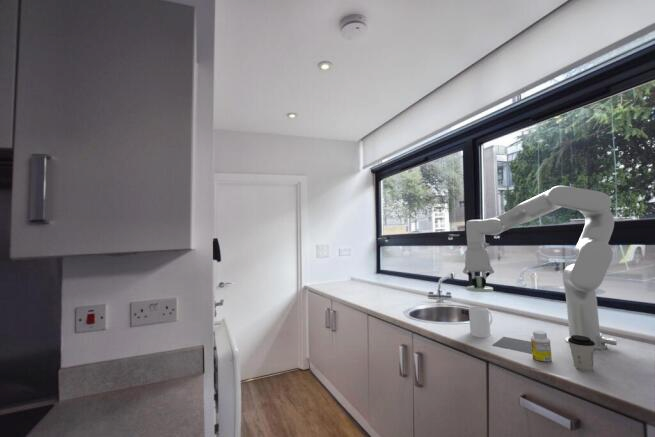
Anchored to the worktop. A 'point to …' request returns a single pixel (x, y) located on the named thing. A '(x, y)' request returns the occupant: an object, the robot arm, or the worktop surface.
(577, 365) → the coffee cup
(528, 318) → the worktop surface
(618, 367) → the worktop surface
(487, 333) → the mug
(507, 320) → the worktop surface
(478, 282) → the lid
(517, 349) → the mat
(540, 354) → the supplement bottle
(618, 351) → the worktop surface
